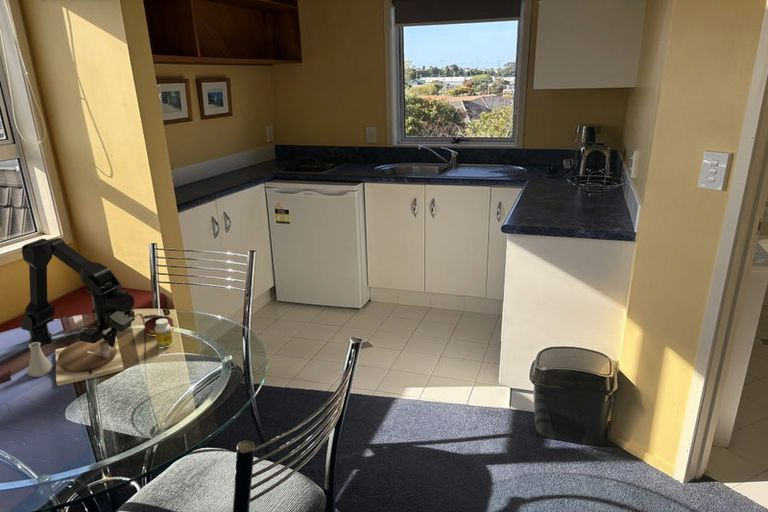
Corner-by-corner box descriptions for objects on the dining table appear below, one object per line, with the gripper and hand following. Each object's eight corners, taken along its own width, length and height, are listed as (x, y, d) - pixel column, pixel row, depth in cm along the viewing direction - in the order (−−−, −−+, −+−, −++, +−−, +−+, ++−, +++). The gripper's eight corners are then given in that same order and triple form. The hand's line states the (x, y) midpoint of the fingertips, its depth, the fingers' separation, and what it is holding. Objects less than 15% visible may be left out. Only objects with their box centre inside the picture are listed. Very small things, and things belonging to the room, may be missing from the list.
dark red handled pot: (146, 343, 205) (132, 320, 203) (168, 329, 212) (155, 307, 210) (160, 339, 197) (147, 315, 196) (183, 325, 205) (170, 302, 203)
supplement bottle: (165, 339, 199) (161, 315, 195) (176, 343, 197) (173, 319, 193) (153, 346, 194) (150, 322, 190) (165, 350, 192) (161, 326, 188)
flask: (42, 379, 175) (35, 352, 171) (22, 376, 176) (15, 349, 172) (58, 366, 181) (52, 340, 177) (39, 363, 182) (33, 337, 179)
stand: (56, 353, 188) (55, 348, 188) (117, 340, 197) (116, 335, 196) (57, 386, 171) (56, 381, 171) (123, 370, 180) (123, 365, 180)
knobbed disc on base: (46, 365, 178) (42, 347, 176) (87, 339, 193) (84, 322, 191) (90, 376, 174) (86, 357, 171) (128, 349, 189) (125, 331, 186)
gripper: (102, 323, 166) (111, 366, 173) (144, 296, 183) (151, 337, 189) (73, 317, 169) (82, 360, 176) (117, 291, 186) (124, 331, 192)
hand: (112, 346), depth 183 cm, fingers closed
